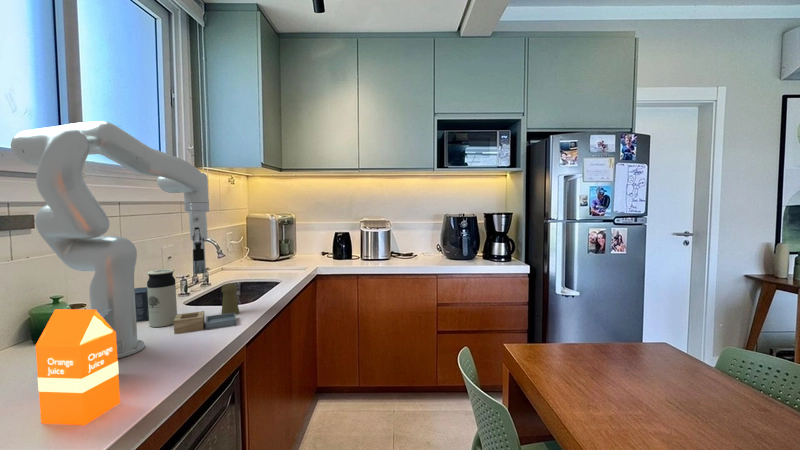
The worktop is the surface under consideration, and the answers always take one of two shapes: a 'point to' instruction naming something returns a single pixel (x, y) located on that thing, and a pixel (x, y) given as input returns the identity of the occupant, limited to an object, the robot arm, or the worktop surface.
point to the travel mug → (161, 298)
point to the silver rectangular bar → (200, 263)
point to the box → (141, 304)
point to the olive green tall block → (229, 299)
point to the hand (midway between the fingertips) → (199, 259)
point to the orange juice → (76, 367)
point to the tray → (220, 321)
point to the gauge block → (189, 322)
